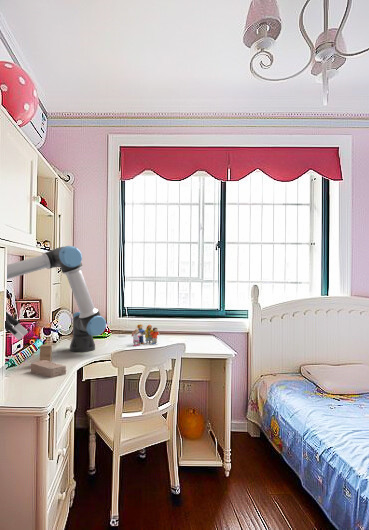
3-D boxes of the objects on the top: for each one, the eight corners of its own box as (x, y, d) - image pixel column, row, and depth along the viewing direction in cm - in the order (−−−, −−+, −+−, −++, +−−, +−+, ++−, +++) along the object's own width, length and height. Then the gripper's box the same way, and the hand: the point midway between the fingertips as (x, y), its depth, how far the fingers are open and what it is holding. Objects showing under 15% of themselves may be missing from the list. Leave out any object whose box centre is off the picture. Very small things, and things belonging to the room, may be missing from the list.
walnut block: (40, 364, 189) (41, 344, 190) (51, 364, 191) (51, 344, 191) (39, 366, 185) (40, 346, 185) (50, 366, 186) (50, 346, 186)
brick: (67, 374, 172) (67, 364, 173) (51, 378, 166) (51, 367, 166) (45, 369, 182) (45, 359, 182) (29, 372, 175) (29, 362, 175)
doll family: (131, 346, 240) (132, 326, 240) (125, 344, 248) (126, 324, 248) (160, 343, 251) (161, 324, 252) (154, 341, 259) (154, 322, 260)
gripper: (-8, 309, 194) (22, 337, 197) (-22, 313, 169) (12, 346, 173) (3, 298, 195) (33, 327, 198) (-9, 302, 171) (25, 334, 174)
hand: (24, 336), depth 185 cm, fingers open, 13 cm apart
